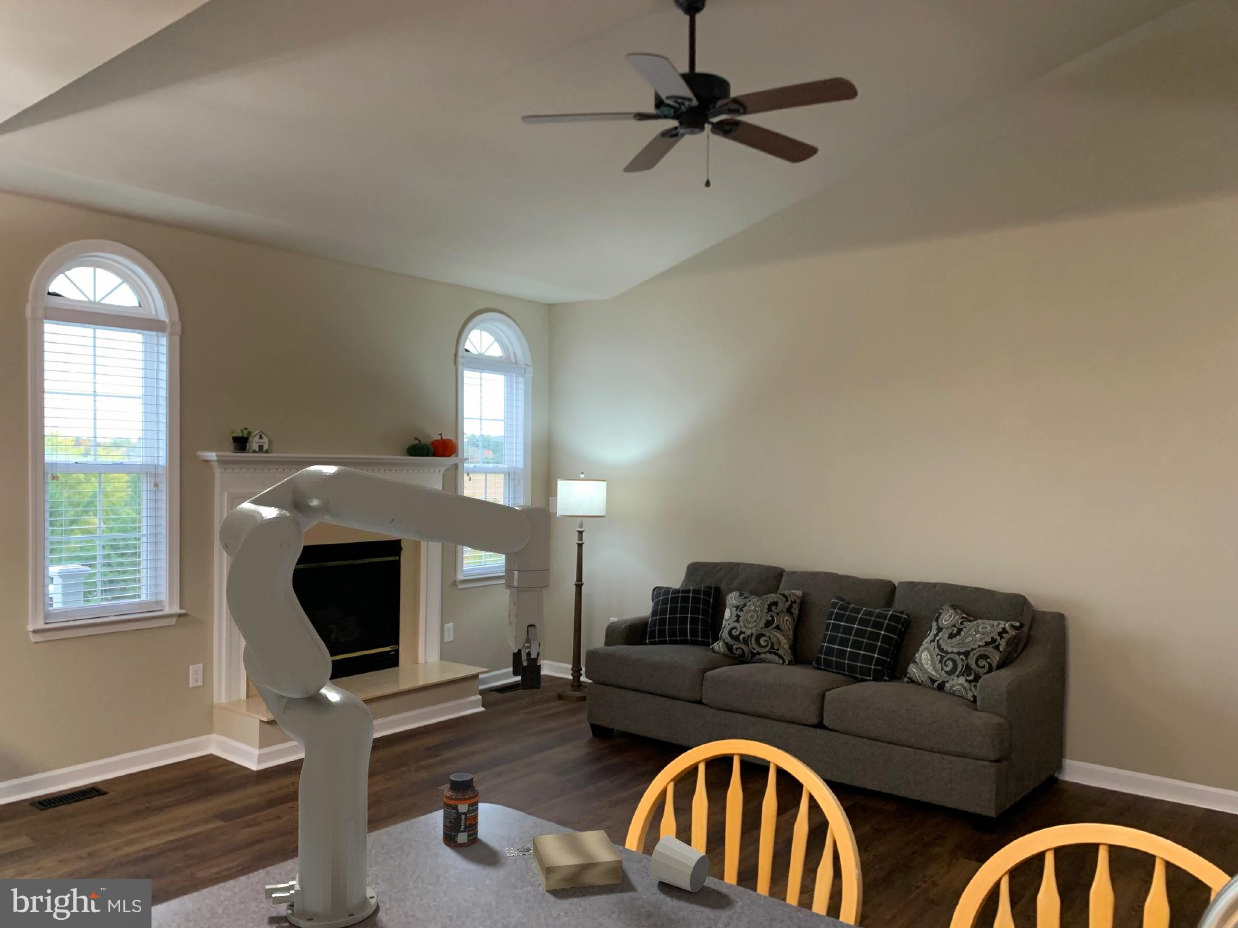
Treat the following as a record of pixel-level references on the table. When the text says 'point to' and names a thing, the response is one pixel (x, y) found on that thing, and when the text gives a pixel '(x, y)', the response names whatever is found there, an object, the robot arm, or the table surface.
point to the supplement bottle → (460, 811)
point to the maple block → (576, 859)
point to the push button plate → (521, 850)
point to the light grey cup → (679, 864)
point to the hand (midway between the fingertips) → (526, 681)
